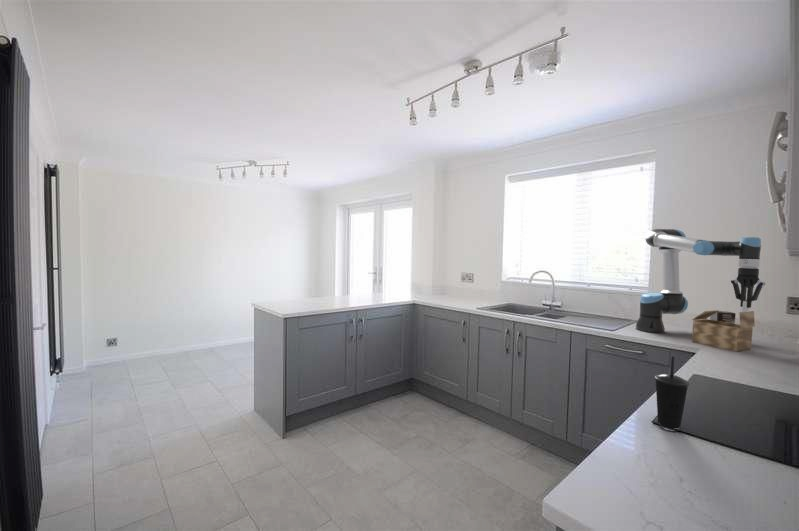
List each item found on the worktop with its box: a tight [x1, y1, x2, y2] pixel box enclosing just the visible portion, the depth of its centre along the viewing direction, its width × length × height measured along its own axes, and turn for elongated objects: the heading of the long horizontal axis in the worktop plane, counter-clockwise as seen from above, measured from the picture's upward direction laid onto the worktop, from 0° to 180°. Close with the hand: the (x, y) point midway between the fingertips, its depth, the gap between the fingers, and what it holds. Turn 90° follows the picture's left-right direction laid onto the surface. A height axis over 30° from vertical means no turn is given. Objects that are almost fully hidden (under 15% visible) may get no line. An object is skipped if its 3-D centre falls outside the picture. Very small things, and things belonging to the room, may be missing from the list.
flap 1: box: [691, 309, 719, 321], centre depth 197 cm, size 8×13×1 cm
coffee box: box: [709, 310, 736, 324], centre depth 205 cm, size 9×6×16 cm
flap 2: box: [738, 310, 756, 328], centre depth 180 cm, size 8×13×1 cm
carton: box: [691, 318, 754, 353], centre depth 190 cm, size 20×13×12 cm, turn 23°
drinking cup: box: [654, 356, 690, 428], centre depth 98 cm, size 8×8×20 cm
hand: (745, 313), depth 181 cm, fingers closed
